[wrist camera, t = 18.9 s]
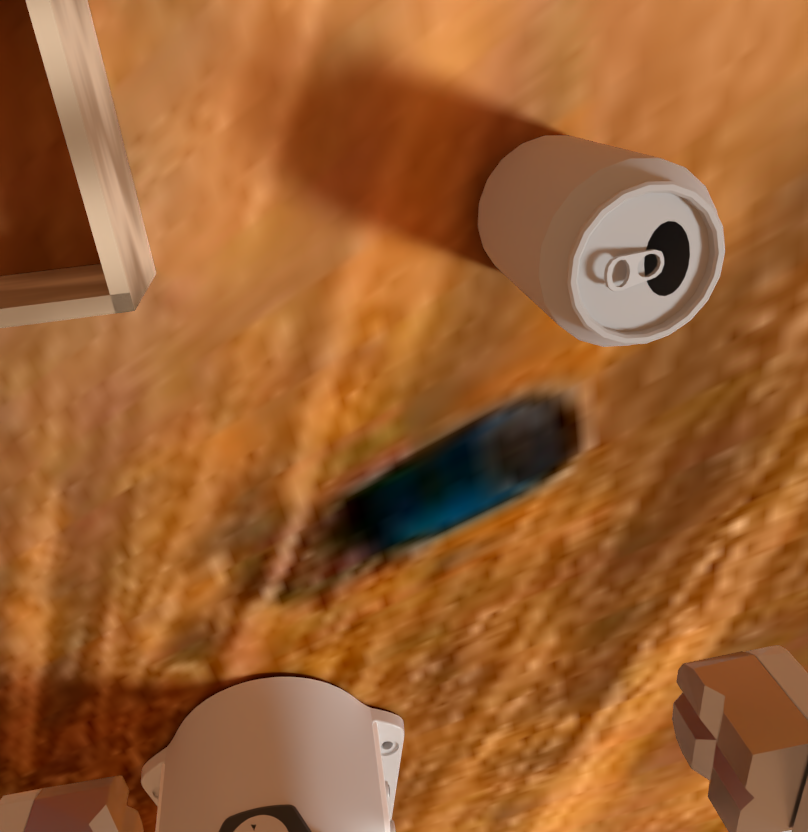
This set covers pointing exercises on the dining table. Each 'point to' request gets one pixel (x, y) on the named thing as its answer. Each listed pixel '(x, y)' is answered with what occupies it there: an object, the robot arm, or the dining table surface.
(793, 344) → the dining table surface
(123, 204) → the open box
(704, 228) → the can
